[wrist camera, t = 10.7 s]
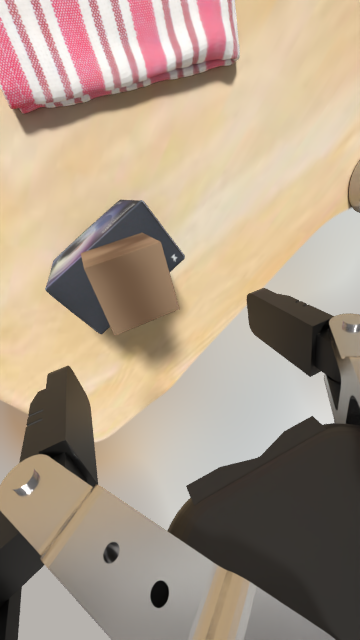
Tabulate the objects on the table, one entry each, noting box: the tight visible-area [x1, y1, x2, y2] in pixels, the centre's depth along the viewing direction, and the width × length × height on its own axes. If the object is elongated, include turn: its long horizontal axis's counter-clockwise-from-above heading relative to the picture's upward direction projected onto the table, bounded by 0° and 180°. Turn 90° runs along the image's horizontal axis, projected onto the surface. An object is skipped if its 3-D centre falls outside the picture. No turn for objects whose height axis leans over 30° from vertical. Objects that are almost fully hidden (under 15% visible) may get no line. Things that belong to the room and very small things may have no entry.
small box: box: [45, 200, 185, 334], centre depth 26 cm, size 11×6×10 cm, turn 128°
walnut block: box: [81, 233, 179, 336], centre depth 19 cm, size 5×5×5 cm
